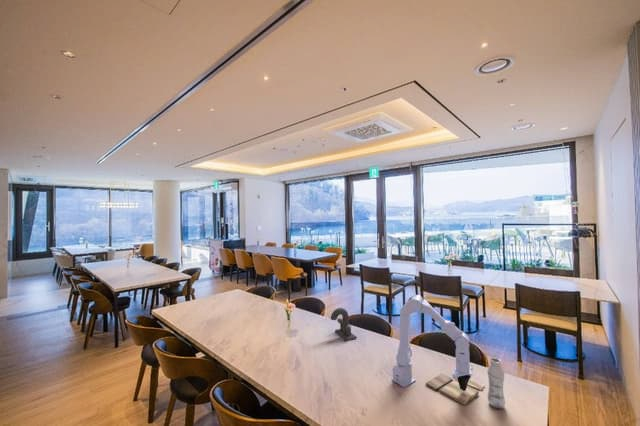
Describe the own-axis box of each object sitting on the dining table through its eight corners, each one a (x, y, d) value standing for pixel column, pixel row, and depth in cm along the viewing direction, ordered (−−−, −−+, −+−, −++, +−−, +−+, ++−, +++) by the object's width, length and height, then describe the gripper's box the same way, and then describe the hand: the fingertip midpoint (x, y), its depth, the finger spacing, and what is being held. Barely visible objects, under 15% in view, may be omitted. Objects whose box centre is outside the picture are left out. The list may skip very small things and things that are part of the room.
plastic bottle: (498, 400, 124) (497, 356, 124) (509, 410, 117) (507, 363, 117) (484, 400, 124) (483, 356, 124) (494, 411, 117) (493, 364, 117)
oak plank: (464, 404, 120) (464, 401, 120) (439, 391, 130) (439, 389, 130) (478, 393, 128) (478, 390, 128) (453, 382, 138) (453, 379, 138)
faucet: (325, 333, 198) (325, 305, 199) (344, 329, 205) (343, 302, 205) (337, 343, 182) (337, 313, 182) (357, 339, 188) (357, 310, 189)
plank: (481, 392, 131) (481, 389, 131) (455, 381, 139) (455, 379, 139) (484, 387, 134) (484, 385, 134) (458, 377, 143) (458, 375, 143)
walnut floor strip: (436, 391, 131) (436, 388, 131) (425, 385, 136) (425, 382, 136) (452, 381, 139) (452, 378, 139) (441, 375, 144) (441, 373, 144)
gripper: (463, 368, 120) (463, 400, 120) (479, 359, 129) (479, 388, 128) (447, 362, 126) (448, 391, 126) (463, 353, 134) (464, 380, 134)
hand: (463, 389), depth 127 cm, fingers closed
